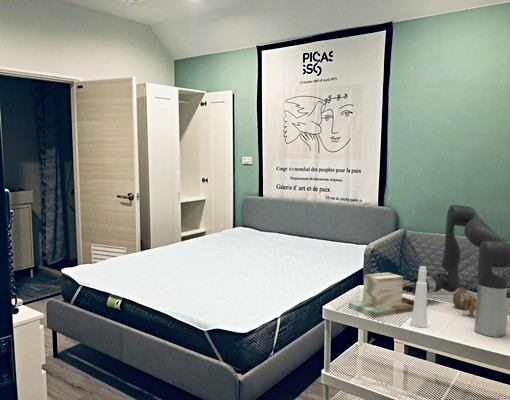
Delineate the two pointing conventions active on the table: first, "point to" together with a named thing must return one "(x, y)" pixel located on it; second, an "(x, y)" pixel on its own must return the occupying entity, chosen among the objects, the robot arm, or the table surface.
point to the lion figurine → (468, 303)
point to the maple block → (382, 290)
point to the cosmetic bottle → (420, 300)
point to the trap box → (373, 312)
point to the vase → (457, 298)
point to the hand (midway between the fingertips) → (394, 288)
